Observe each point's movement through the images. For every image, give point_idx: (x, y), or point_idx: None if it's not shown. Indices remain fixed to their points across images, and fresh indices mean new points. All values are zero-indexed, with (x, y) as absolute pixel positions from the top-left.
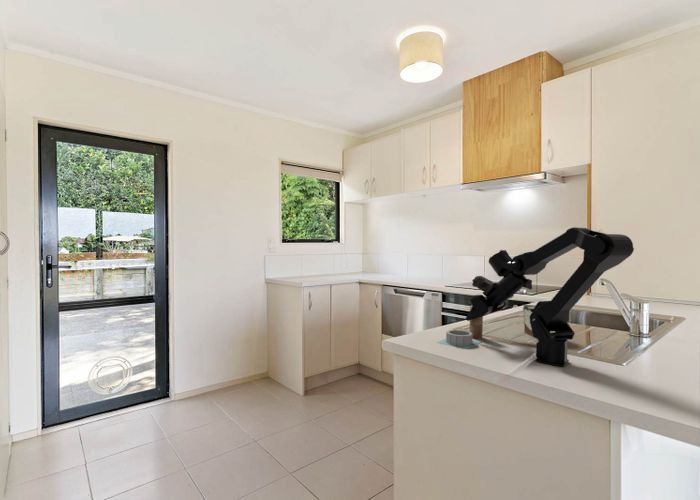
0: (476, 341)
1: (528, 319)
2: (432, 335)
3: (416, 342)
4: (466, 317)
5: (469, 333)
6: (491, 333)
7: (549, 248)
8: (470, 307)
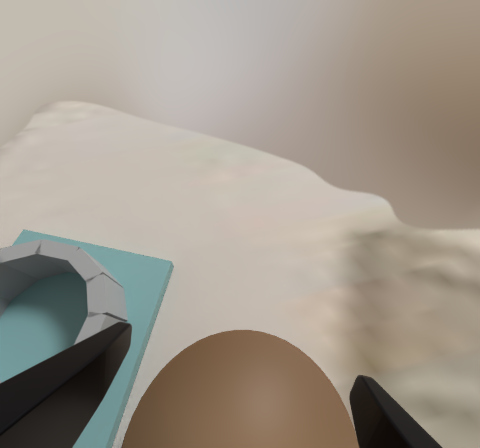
0: (113, 423)
1: None
2: (209, 185)
3: (70, 165)
4: (104, 332)
5: None
6: (456, 443)
7: None
8: (185, 351)
